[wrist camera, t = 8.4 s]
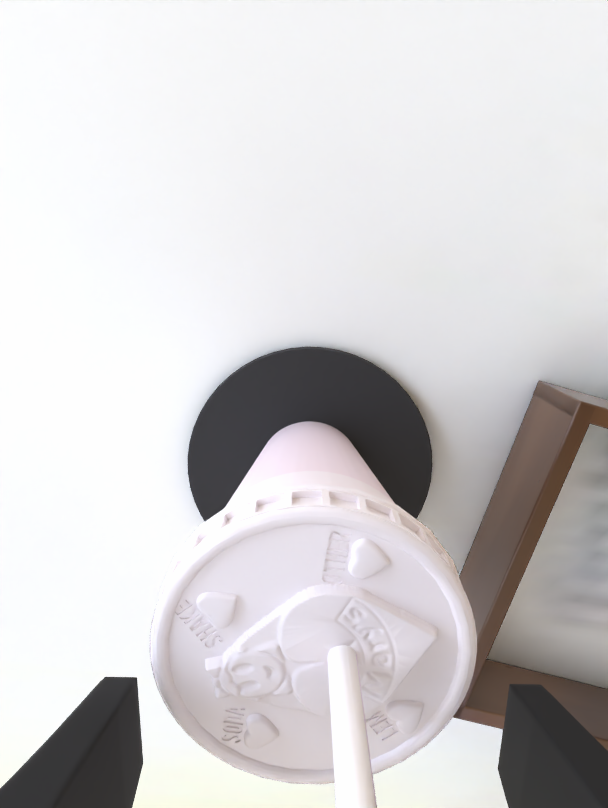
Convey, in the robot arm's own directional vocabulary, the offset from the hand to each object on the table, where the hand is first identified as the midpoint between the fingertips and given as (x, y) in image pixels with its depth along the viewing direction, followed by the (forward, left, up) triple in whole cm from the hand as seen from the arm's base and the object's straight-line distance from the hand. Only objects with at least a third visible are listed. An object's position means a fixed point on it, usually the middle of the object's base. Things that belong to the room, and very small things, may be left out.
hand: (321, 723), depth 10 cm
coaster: (+1, -1, -10) cm, 10 cm away
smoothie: (+1, -1, -10) cm, 10 cm away
